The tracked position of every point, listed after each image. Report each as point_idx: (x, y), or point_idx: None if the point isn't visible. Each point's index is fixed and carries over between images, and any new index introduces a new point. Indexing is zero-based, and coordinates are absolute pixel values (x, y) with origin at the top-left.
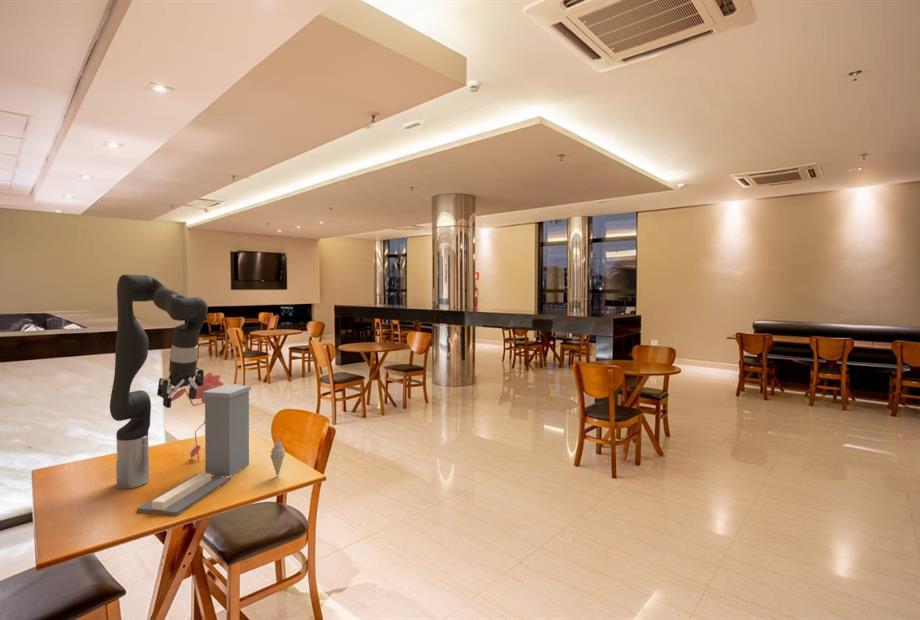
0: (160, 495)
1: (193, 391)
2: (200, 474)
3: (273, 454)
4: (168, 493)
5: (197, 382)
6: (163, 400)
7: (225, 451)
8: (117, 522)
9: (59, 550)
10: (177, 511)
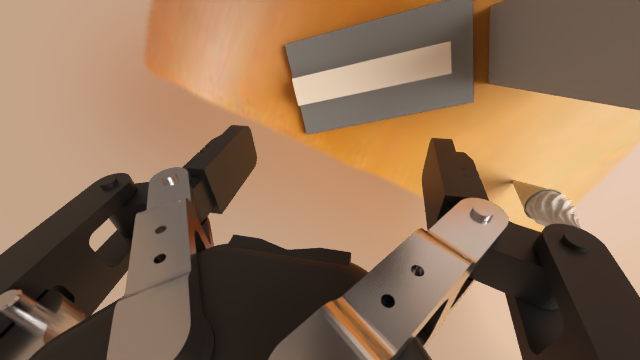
0: (342, 32)
1: (429, 225)
2: (439, 50)
3: (536, 204)
4: (329, 78)
5: (527, 284)
6: (194, 157)
7: (526, 75)
8: (247, 52)
9: (160, 58)
10: (308, 133)
